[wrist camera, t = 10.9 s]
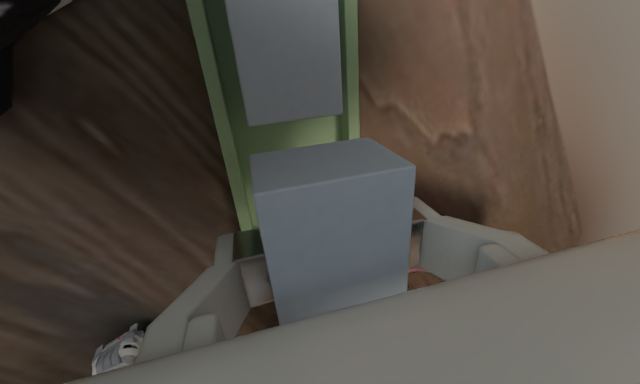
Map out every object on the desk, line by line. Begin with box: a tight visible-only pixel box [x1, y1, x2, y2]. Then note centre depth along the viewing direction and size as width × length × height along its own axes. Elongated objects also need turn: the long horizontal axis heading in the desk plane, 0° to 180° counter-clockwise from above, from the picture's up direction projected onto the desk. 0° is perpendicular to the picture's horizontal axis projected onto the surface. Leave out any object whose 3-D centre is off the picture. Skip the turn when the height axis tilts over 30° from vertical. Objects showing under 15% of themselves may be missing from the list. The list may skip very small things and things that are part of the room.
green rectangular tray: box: [185, 0, 360, 231], centre depth 14 cm, size 14×7×2 cm, turn 5°
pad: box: [249, 137, 416, 325], centre depth 9 cm, size 4×6×3 cm, turn 5°
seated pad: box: [224, 0, 343, 126], centre depth 11 cm, size 6×4×3 cm, turn 5°
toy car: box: [92, 323, 147, 375], centre depth 18 cm, size 4×8×3 cm, turn 30°
